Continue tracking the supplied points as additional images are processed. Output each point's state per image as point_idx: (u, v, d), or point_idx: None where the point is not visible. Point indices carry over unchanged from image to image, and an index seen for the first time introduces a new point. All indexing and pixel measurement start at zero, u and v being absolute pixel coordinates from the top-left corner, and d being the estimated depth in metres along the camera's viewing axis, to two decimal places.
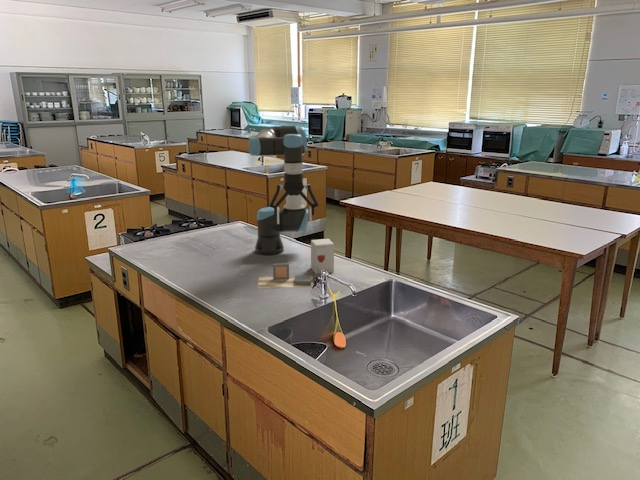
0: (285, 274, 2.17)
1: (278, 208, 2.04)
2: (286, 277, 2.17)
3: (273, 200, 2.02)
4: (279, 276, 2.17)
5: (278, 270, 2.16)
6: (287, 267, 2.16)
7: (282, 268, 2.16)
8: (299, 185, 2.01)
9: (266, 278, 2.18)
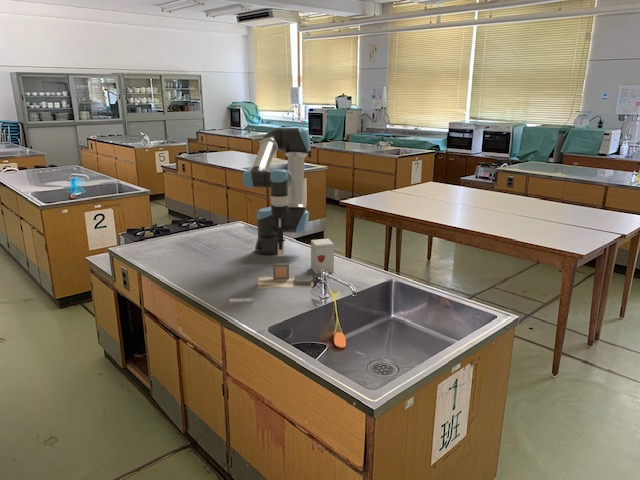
0: (285, 274, 2.17)
1: None
2: (286, 277, 2.17)
3: None
4: (279, 276, 2.17)
5: (278, 270, 2.16)
6: (287, 267, 2.16)
7: (282, 268, 2.16)
8: (277, 216, 2.15)
9: (266, 278, 2.18)
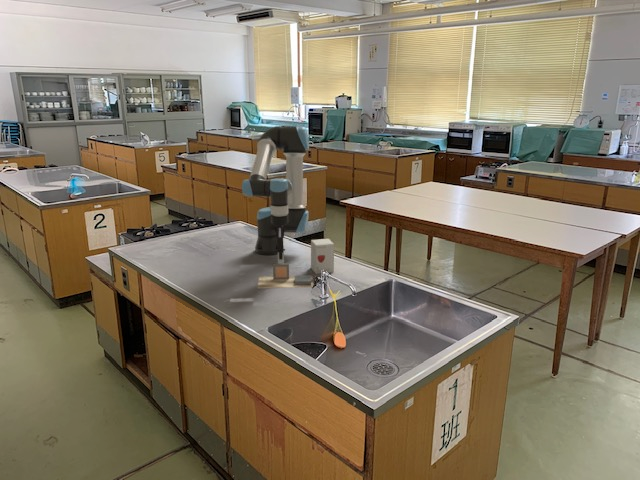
0: (285, 274, 2.17)
1: None
2: (286, 277, 2.17)
3: None
4: (279, 276, 2.17)
5: (278, 270, 2.16)
6: (287, 267, 2.16)
7: (282, 268, 2.16)
8: (277, 226, 2.13)
9: (266, 278, 2.18)
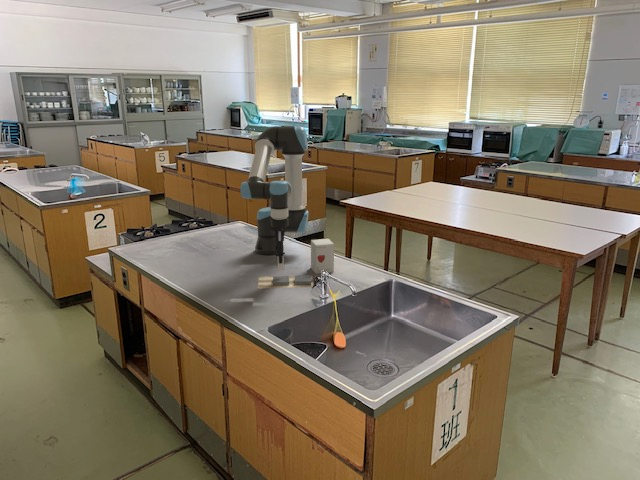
0: None
1: None
2: None
3: None
4: None
5: None
6: None
7: None
8: (277, 230, 2.08)
9: (266, 278, 2.18)
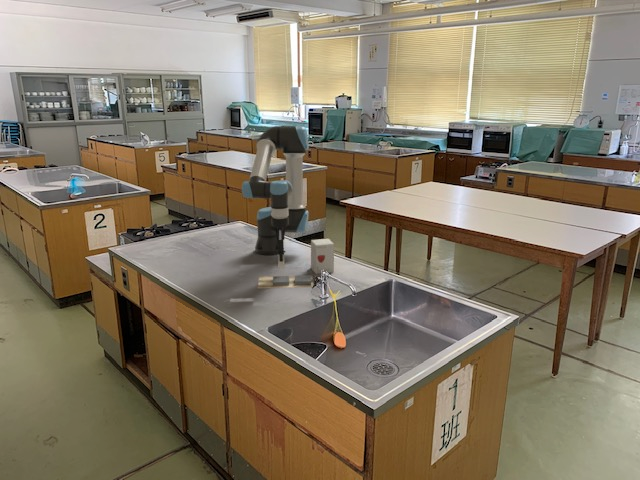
0: None
1: None
2: None
3: None
4: None
5: None
6: None
7: None
8: (277, 229, 2.12)
9: (266, 278, 2.18)
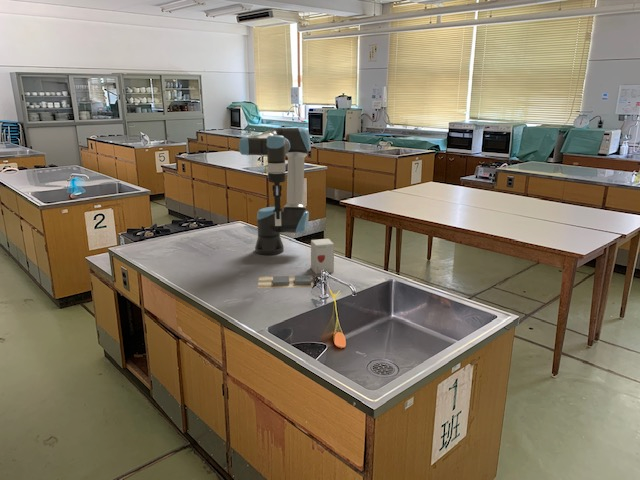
0: None
1: None
2: None
3: None
4: None
5: None
6: None
7: None
8: (274, 184, 2.08)
9: (266, 278, 2.18)
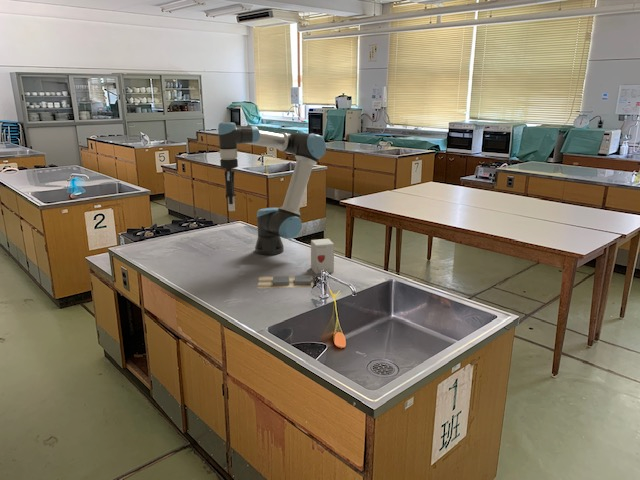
0: None
1: None
2: None
3: None
4: None
5: None
6: None
7: None
8: (226, 170, 2.14)
9: (266, 278, 2.18)
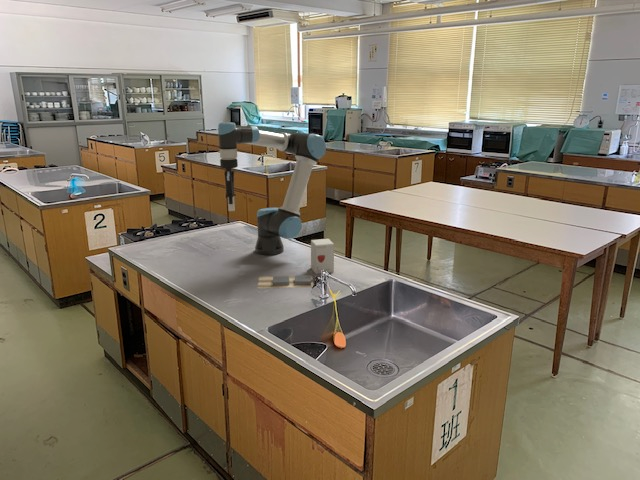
0: None
1: None
2: None
3: None
4: None
5: None
6: None
7: None
8: (226, 170, 2.14)
9: (266, 278, 2.18)
